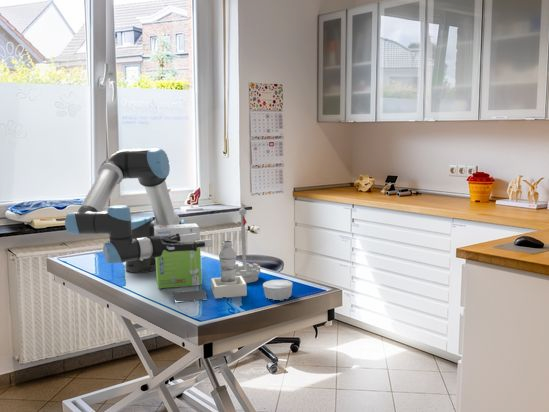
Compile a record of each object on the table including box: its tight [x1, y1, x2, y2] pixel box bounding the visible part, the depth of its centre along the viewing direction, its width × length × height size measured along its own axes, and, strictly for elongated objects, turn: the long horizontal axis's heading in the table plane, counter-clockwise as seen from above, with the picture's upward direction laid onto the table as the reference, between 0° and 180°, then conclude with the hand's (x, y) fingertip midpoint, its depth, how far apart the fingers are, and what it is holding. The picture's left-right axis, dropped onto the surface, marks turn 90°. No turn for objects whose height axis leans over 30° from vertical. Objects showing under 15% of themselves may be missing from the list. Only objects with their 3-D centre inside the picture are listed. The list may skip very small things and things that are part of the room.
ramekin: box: [262, 279, 294, 301], centre depth 217 cm, size 11×11×5 cm
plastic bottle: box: [218, 240, 237, 286], centre depth 223 cm, size 6×7×20 cm
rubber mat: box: [172, 289, 208, 302], centre depth 221 cm, size 12×12×1 cm
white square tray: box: [210, 276, 248, 299], centre depth 224 cm, size 12×12×4 cm
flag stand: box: [235, 207, 261, 284], centre depth 241 cm, size 13×13×30 cm
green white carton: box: [154, 222, 203, 289], centre depth 237 cm, size 18×10×24 cm, turn 105°
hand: (203, 239), depth 217 cm, fingers open, 13 cm apart
